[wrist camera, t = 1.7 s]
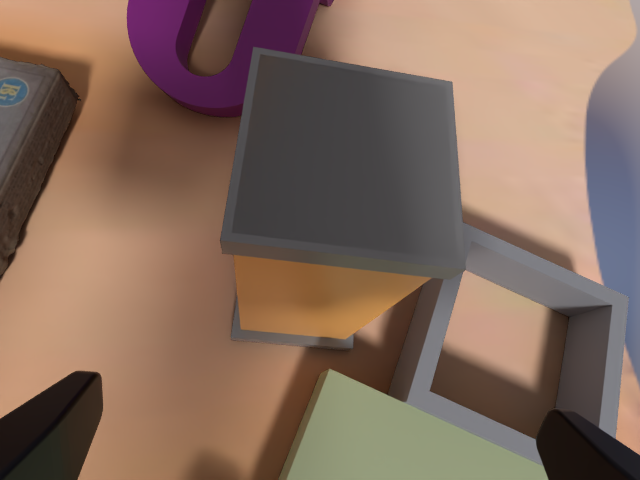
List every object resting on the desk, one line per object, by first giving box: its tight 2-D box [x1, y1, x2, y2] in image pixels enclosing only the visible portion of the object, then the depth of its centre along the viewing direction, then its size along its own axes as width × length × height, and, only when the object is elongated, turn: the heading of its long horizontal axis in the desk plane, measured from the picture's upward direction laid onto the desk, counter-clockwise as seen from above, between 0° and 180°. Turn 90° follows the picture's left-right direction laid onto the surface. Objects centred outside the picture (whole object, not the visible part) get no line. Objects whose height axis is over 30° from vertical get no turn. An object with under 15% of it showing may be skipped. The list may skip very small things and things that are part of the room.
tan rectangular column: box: [220, 47, 466, 351], centre depth 16 cm, size 6×6×12 cm
